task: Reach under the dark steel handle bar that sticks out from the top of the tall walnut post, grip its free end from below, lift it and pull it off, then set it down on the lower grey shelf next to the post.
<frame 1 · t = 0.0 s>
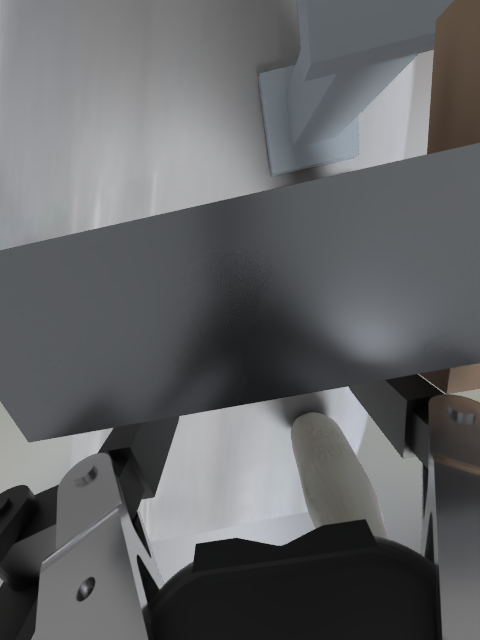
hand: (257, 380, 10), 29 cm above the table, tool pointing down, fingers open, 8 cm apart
tall walnut post: (316, 229, 36), on the table
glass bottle: (308, 420, 49), on the table
low grey shelf: (308, 121, 31), on the table
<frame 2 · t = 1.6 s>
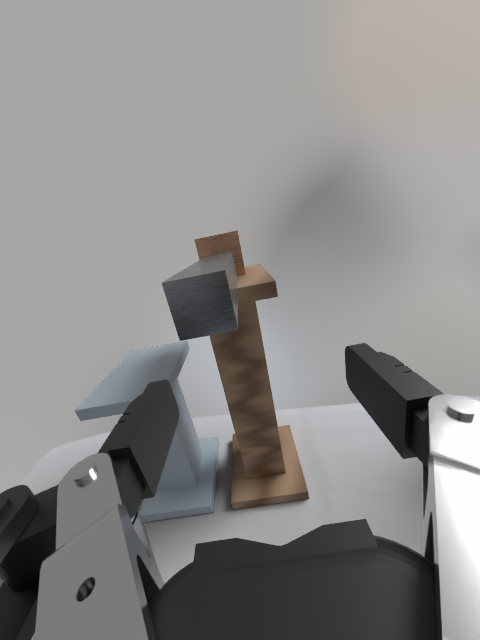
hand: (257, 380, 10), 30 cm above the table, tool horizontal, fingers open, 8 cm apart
tall walnut post: (265, 464, 38), on the table
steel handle: (222, 286, 23), point 32 cm above the table, touching tall walnut post
low grey shelf: (185, 476, 39), on the table
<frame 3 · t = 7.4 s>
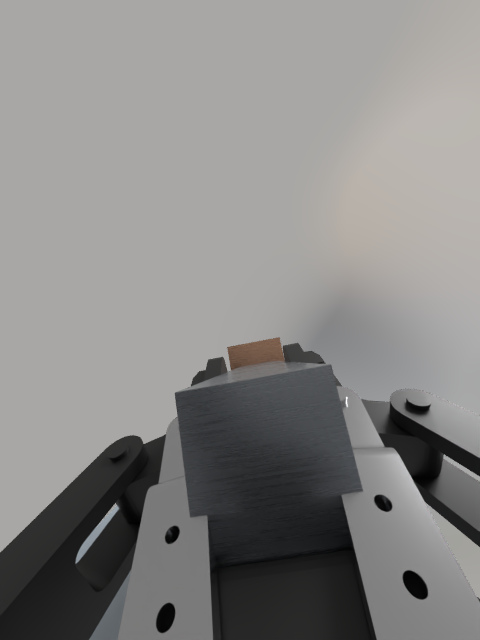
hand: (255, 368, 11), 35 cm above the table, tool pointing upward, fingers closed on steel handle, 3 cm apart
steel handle: (265, 408, 15), point 32 cm above the table, touching gripper, tall walnut post
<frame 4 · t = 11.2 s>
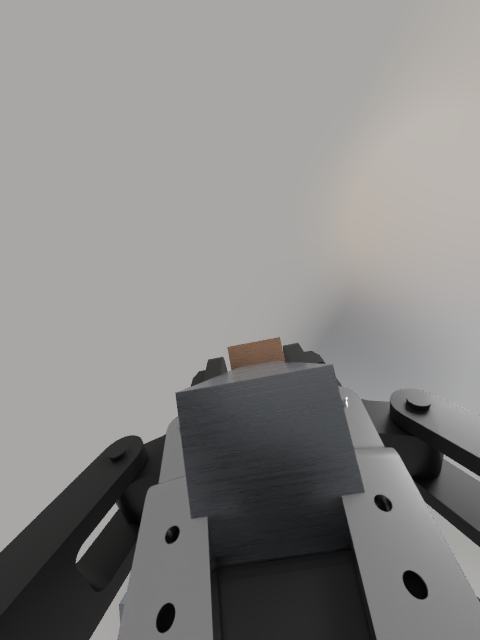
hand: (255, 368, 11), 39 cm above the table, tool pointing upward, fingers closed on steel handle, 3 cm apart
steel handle: (265, 408, 15), point 36 cm above the table, touching gripper
when the fingers open (26 cm above the table, at t = 15.0 s): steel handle drops 1 cm, resting on low grey shelf.
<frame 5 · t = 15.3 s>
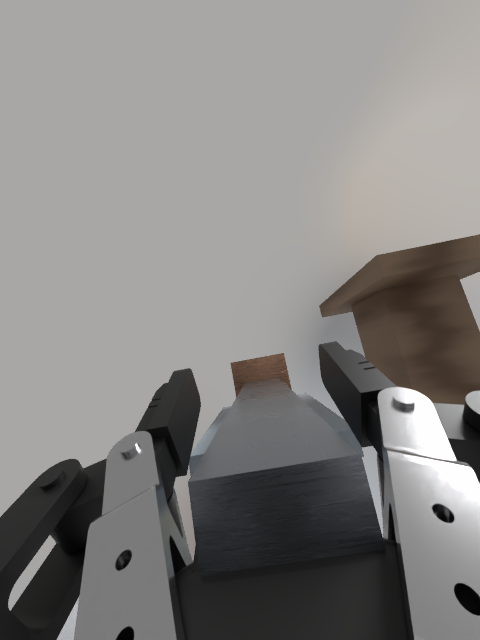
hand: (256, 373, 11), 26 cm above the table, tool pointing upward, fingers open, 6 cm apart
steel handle: (270, 432, 15), point 22 cm above the table, touching low grey shelf
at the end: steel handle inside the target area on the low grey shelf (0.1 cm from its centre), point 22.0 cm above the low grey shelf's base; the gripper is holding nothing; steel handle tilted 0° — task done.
